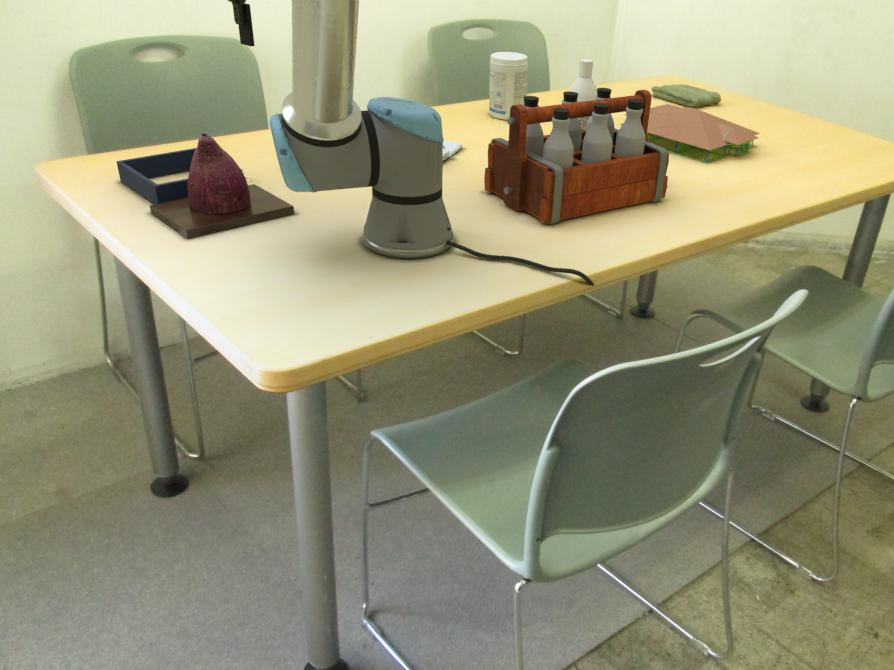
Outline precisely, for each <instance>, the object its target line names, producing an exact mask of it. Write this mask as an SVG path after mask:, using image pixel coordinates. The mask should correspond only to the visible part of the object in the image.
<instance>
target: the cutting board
mask: <svg viewBox="0 0 894 670" xmlns="http://www.w3.org/2000/svg"><path fill="white" fill-rule="evenodd" d="M248 188H249V192H250V201H251V204H250V206H249V207H247V208H245V209H243V210H240V211H237V212H234V213H227V214H214V215H213V214H205V213H201V212H199V211H196V210H193V209H192V208H190V206H189V202H188V198H184V199H179V200H174V201H169V202H164V203H159V204H150V205H149V209H150V214H151V215H153V216H154V217H156V218H157V219H159V220H160V221H161V222H163V223H165V224H166V225H167V226H168V227H170V228H171V229H173V230H174V231H176V232H177V233H178V234H180V235H181V236H183V237H185V238H186V239H192V238H196V237H200V236H205V235H209V234H213V233H217V232H222V231H226V230H230V229H235V228H240V227H244V226H249V225H252V224H256V223H261V222H264V221H269V220H275V219H278V218H283V217H286V216H290V215H291V216H292V215H294V214H295V208H294V205H293V204H291V203H289V202H287V201H286V200H283V199H281V198H279V197H278V196H277V195H275V194H273V193H271V192H269V191H268V190H266V189H264V188H262V187H260V186H259V185H256V184H254V183H251V184H248Z"/></svg>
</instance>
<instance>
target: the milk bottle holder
mask: <svg viewBox="0 0 894 670" xmlns="http://www.w3.org/2000/svg"><path fill="white" fill-rule="evenodd" d="M596 88H597V96H596V97H595V100H592V101H584V102H578V101H577V98H578V93H576V92H571V91H570V90H567V91H564V92H562V95H563V99H561V104H559V103H558V104H551V105H543V106H540V105H539V102H540V97H539V96H535V95H527V96H524V104H523V105H521V104H518V105H512V106H511V108H510V117H509V118H508V120H506V121H507V122H506V123H507V125H509V126H508V140H507V139H504V138H502V137H497V138H492V139H491V140H490V143H488V146H487V167H485V168H484V177H483V182H484V191H486V192H488V193H493V194H495V195H496V196H498V197H500V198H502V199H503V204H504V205H507V207H510V208H512V209H513V210H515V211H517V212H521V211H525V212H526V213H528V214H530V215H533V216H534V217H536V218H537V219H538V221H539V222H541V224H548V225H552V224H557V223H559V222H560V221H562V220H566V219H567V220H568V219H572V218H577V217H581V216H586V215H590V214H591V215H592V214H595V213H600V212H604V211H609V210H615V209H620V208H623V207H629V206H632V205H638V204H642V203H647V202H650V203H655V202H660V201H661V200H662V199H665V197H666V194H667V189H668V181H669V180H668V179H669V176H668V175H667V173H668V168H669V163H670V152H669V151H668V150H666V147H664V148H663V147H662V146H661V145H658V144H656V145H655V143H653V142H651V141H649V140H650V138H649V134H647V129H648V121H649V114H650V108H651V105H652V93H651V91H649V90H648V89H638V90H636V91H635V93H634V95H625V96H618V97H617V96H616V97H612V96H611V94H612V89H611V88H608V87H596ZM624 112H626V113H625V120H624V121H623V125H620V128H619V129H618V128H615V121H614V118H613V116H612V114H616V113H617V114H618V113H624ZM588 116H590V117H589V119H588V121H587V126H586V129H585V130H582V127H581V124H580V121H579V119H578V118H581V117H588ZM549 122H552V128H551V131H550V133H549V134H545V135H544V131H543V127H542V126H541V125H542V124H543V123H549Z"/></svg>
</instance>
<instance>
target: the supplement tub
mask: <svg viewBox="0 0 894 670" xmlns="http://www.w3.org/2000/svg"><path fill="white" fill-rule="evenodd" d="M528 58H529V57H528V55H526V54H524V53H521V52H515V51H498V52H493V53H491V54H490V58H489V59H490V60H489V87H488V88H489V89H488V90H489V93H488V94H489V96H488V97H489V98H488V99H489V100H488V102H489V103H488V113H489V115H490V116H491V117H493V118H495V119H498V120H504V121H508V118H509V117H510V108H511V106H512V105H518V104H521V105H523V104H524V96H528V76H529V75H528V74H529V71H528V70H529V61H528Z"/></svg>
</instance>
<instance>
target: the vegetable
mask: <svg viewBox="0 0 894 670" xmlns="http://www.w3.org/2000/svg"><path fill="white" fill-rule="evenodd" d="M196 148H197V149H196V150H195V152H194V155H193V158H192V161H191V165H190V170H189V171H188V175H187V179H188V202H189V206H190V208H192V209H193V210H196V211H199V212H201V213H205V214H213V215H214V214H227V213H234V212H237V211H240V210H243V209H245V208H247V207H249V206H250V204H251V201H250V192H249V188H248V185H249V184H248V181H247V178H246V177H245V174H244V172H243V169H242V168H241V167H240V166H239V165H238V163H237V162H236V160H235V159H234V158H233V157H232V156H231V155H230V154H229V153H228V152H227V151H226V150H224V149H223V147H221V145H220V144H219V143H218V142H217V141H216V139H215V138H214V137H213V136H211V134H207V133H205V132H203V131H201V135H200V136H199V138H198V142H197V146H196ZM241 169H242V170H241Z"/></svg>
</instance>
